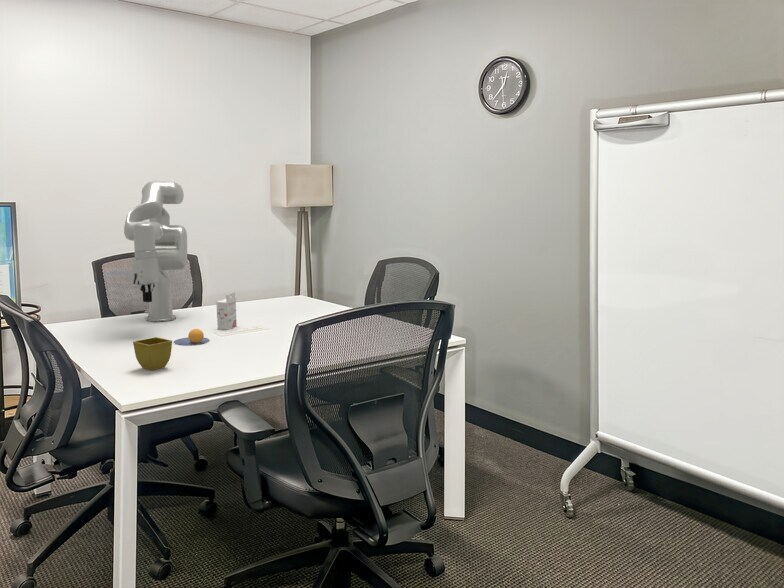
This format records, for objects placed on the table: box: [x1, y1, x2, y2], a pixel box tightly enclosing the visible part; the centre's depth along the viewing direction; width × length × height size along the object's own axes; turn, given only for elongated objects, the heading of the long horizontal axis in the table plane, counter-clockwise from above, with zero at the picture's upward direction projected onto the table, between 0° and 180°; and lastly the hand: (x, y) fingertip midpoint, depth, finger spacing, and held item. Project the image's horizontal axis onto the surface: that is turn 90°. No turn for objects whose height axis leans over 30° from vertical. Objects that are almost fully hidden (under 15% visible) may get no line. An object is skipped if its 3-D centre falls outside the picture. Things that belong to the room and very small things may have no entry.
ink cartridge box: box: [215, 292, 237, 331], centre depth 265 cm, size 9×5×15 cm, turn 168°
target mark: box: [173, 337, 210, 346], centre depth 241 cm, size 13×13×1 cm
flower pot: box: [132, 336, 173, 371], centre depth 203 cm, size 9×9×9 cm
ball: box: [187, 328, 205, 343], centre depth 238 cm, size 6×6×6 cm
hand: (147, 301), depth 248 cm, fingers closed
